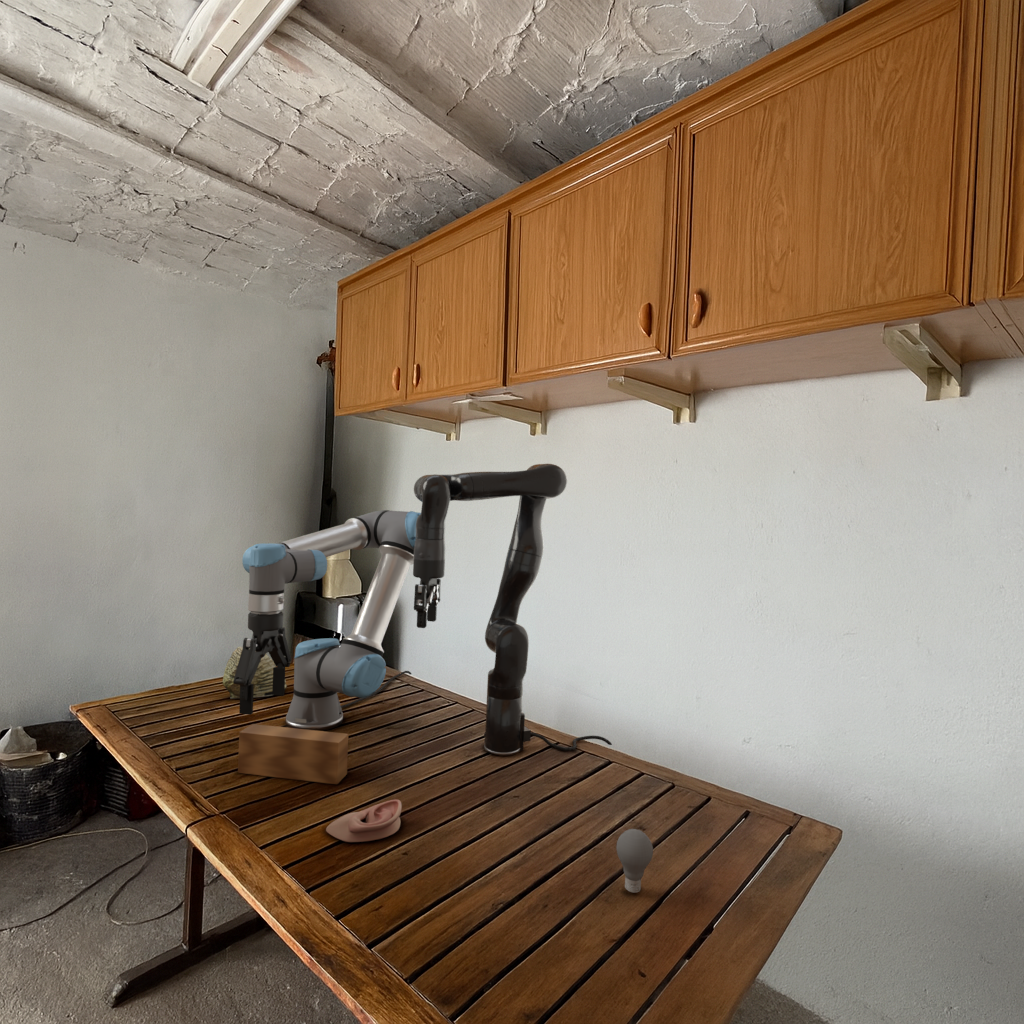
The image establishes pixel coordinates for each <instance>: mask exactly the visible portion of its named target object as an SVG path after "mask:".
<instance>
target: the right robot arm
mask: <svg viewBox="0 0 1024 1024" xmlns="http://www.w3.org/2000/svg"><path fill="white" fill-rule="evenodd" d="M567 484H568V478H567V474H566V472H565V470H564V469H563V468H561V467H560V466H559V465H557V464H554V463H537V464H533V465H531V466H529V467H528V468H527V469H526V470H517V471H468V472H460V473H454V474H425V475H422V476H421V477H419V478H417V480H416V481H415V483H414V485H413V493H414V496H415V497H416V499H417V500H418V501H419V502H421V508H420V509H421V511H420V513H421V514H420V515H419V516H418V517H417V521H416V539H415V545H414V562H413V564H412V565H413V566H412V570H413V571H412V575H413V577H414V578H419V579H420V580H419V583H418V584H417V583H416V584H415V585H414V598H413V611H415V612H416V627H417V628H419V629H426V628H427V626H428V625H427V623H428V622H436V621H437V614H438V613H437V611H438V606H439V603H440V602H441V583H442V580H441V579H442V578H444V577H445V571H446V569H445V567H446V540H445V539H446V520H447V515H448V511H449V508H450V504H451V501H453V502H454V501H458V502H471V501H483V500H493V499H499V498H500V499H501V498H507V497H519V502H518V509H517V513H516V517H515V522H514V526H513V530H512V534H511V538H510V542H509V546H508V549H507V552H506V553H507V554H506V556H505V561H504V567H503V571H502V575H501V580H500V583H499V587H498V592H497V596H496V599H495V602H494V606H493V608H492V611H491V614H490V616H489V620H488V622H487V626H486V629H485V633H484V641H485V645H486V647H487V648H488V649H489V651H491V652H493V653H494V654H495V658H494V667H493V668H491V669H490V670H488V672H487V682H486V683H487V684H486V707H485V708H486V710H485V730H484V733H483V738H484V744H483V749H484V751H485V752H487V753H488V754H491V755H494V756H500V757H501V756H513V755H516V754H519V753H520V752H522V751H524V747H525V745H524V744H525V743H527V742H531V738H532V737H536V738H538V739H541V740H542V741H543V742H545V744H547V745H548V746H550V747H552V748H554V749H556V750H559V751H564V752H572V751H575V750H576V749H577V747H578V746H577V742H580V741H585V740H599V741H602V742H604V743H606V744H607V745H608V746H613V743H612V742H611V741H610V740H609V739H608V738H605V737H603V736H600V735H583V736H579V737H576V738H573V740H572V746H571V747H565V746H561V745H557V744H555V743H553V742H551V741H550V740H549V739H548V738H546V737H545V736H544V735H542V734H539V733H536V732H532V731H531V729H530V728H528V727H527V726H525V725H526V724H525V723H526V722H525V721H526V715H525V712H523V697H524V696H523V693H524V678H525V676H526V674H527V671H528V662H529V651H530V650H529V649H530V638H529V633H528V631H527V629H526V628H525V627H524V626H523V625H521V624H519V623H518V618H519V614H520V610H521V605H522V604H523V601H524V599H525V597H526V595H528V593H529V592H530V590H531V588H532V586H533V585H534V583H535V582H536V580H537V578H538V576H539V573H540V570H541V565H542V562H543V557H544V552H545V541H544V533H543V525H542V520H543V513H544V509H545V506H546V502H547V500H550V499H551V500H552V499H555V498H557V497H559V496H561V495H562V494H563V493H564V492H565V490H566V488H567ZM531 736H532V737H531Z"/></svg>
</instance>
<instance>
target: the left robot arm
mask: <svg viewBox="0 0 1024 1024" xmlns="http://www.w3.org/2000/svg"><path fill="white" fill-rule="evenodd" d="M420 514H421V512H418V511H412V510H410V511H404V510H403V511H402V510H390V509H389V510H388V509H383V510H375V511H371V512H368V513H364V514H361V515H358V516H353V517H351V518H348V519H347V520H346V521H344V523H343V524H339V525H335V526H332V527H329V528H325V529H322V530H318V531H315V532H311V533H308V534H304V535H301V536H297V537H294V538H290V539H288V540H284V541H281V542H275V543H269V542H268V543H256V544H253V545H252V546H249V547H248V548H247V549H246V550H245V551H244V552H243V554H242V559H241V560H242V567H243V569H244V571H246V572H247V573H248V574H249V575H248V577H249V579H248V604H247V610H248V611H249V613H248V614H247V629H248V630H250V631H251V632H252V636H251V637H244V638H243V642H242V647H243V649H242V653H241V656H240V660H239V663H238V666H237V670H236V673H235V677H234V680H233V683H234V684H239V685H240V698H239V711H238V712H239V714H240V715H248V716H249V715H252V714H253V713H254V697H253V690H254V684H251V682H252V680H253V678H254V675H255V673H256V670H257V668H258V665H259V663H260V661H261V658H262V657H264V656H265V654H269V657H270V658H271V659H272V660H273V662H274V664H275V665H276V667H274V668H273V689H272V696H281V697H283V696H285V691H286V690H285V680H286V668H290V667H291V662H292V657H291V653H290V649H289V644H288V641H287V637H286V627H284V612H283V610H284V602H285V596H284V595H285V585H286V584H294V583H304V582H312V581H316V580H321V579H322V578H323V577H324V576H325V575H326V573H327V571H328V559H327V558H328V557H332V556H335V555H337V554H341V553H344V552H346V551H350V550H355V551H360V550H364V549H378V550H379V553H380V554H381V555H380V559H379V562H378V564H377V567H376V569H375V571H374V574H373V577H372V579H371V581H370V585H369V587H368V589H367V592H366V595H365V597H364V599H363V602H362V605H361V607H360V610H359V613H358V615H357V618H356V620H355V623H354V625H353V628H352V631H351V633H350V634H349V635H347V636H344V637H343V638H342V640H341V643H340V641H339V639H338V638H335V637H333V638H332V637H329V638H315V639H314V638H313V639H308V640H304V641H302V642H299V643H298V644H297V645H296V646H295V652H294V653H295V654H294V657H293V659H294V660H293V662H294V663H293V665H294V667H293V695H292V696H293V697H292V699H291V702H290V704H289V708H288V711H287V713H286V715H285V727H287V728H296V729H306V730H316V731H325V732H326V731H329V730H332V729H335V728H337V727H339V726H340V725H342V723H343V722H344V713H343V709H344V708H346V707H349V706H353V705H354V704H356V703H359V702H361V701H364V700H367V699H369V698H371V697H373V696H375V695H377V694H379V693H380V692H381V691H382V690H384V689H385V688H386V687H387V686H388V685H389V684H390V683H391V682H392V681H393V680H395V679H396V678H398V677H400V676H402V675H405V674H408V675H412V672H411V671H409V670H404V671H401V672H400V673H401V674H400V673H397V674H395V675H394V676H392V677H390V678H389V680H387V681H386V682H385V683H384V684H383V682H384V680H385V678H386V674H387V668H386V666H387V663H386V661H385V659H384V658H383V656H384V653H385V650H384V649H383V647H382V643H383V640H384V637H385V634H386V632H387V629H388V626H389V623H390V621H391V619H392V616H393V612H394V611H395V608H396V604H397V602H398V600H399V597H400V594H401V591H402V589H403V585H404V584H405V581H406V578H407V575H408V572H409V569H410V567H411V566H412V565H413V562H414V545H415V539H416V521H417V517H418V516H419V515H420ZM249 648H250V649H249ZM239 677H240V678H239ZM382 684H383V685H382ZM338 694H342V695H345V696H347V697H351V698H357V699H355V700H353V701H350V702H348V703H346V704H345V703H344V704H341V702H340V699H339V695H338ZM342 708H343V709H342Z"/></svg>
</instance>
